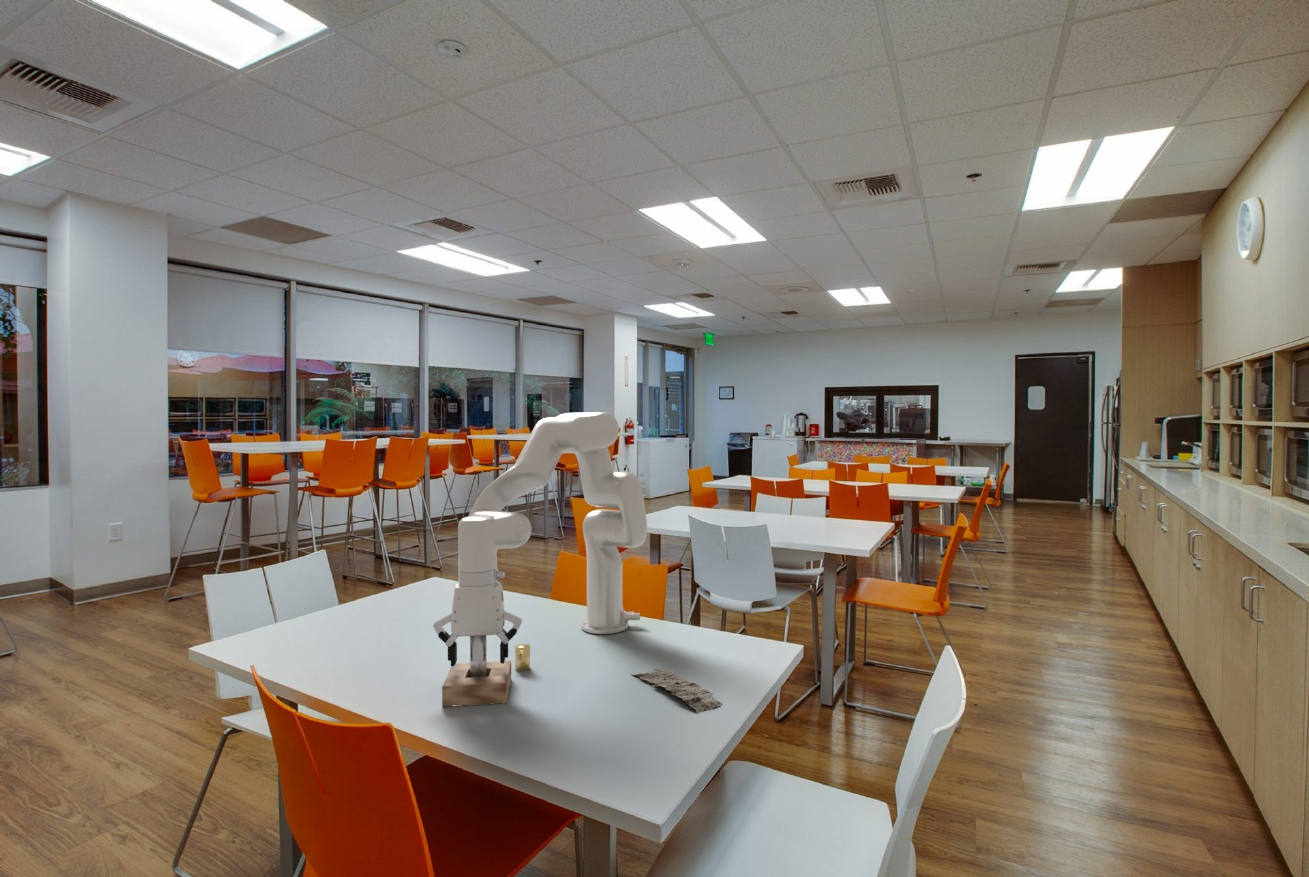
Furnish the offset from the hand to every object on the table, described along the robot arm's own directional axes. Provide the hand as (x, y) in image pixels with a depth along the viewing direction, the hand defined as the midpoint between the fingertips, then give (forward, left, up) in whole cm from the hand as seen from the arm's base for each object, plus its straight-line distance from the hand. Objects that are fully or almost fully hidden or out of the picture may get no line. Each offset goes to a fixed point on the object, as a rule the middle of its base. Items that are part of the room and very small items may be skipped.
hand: (478, 662), depth 129 cm
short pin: (-8, -12, -6) cm, 16 cm away
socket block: (0, 0, -6) cm, 6 cm away
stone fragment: (-39, +4, -7) cm, 40 cm away
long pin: (0, 0, -6) cm, 6 cm away
